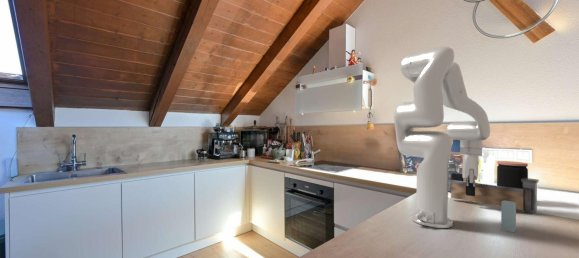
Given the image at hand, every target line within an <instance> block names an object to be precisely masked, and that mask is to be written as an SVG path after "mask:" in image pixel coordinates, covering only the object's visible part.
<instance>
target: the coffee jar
mask: <svg viewBox="0 0 579 258" xmlns="http://www.w3.org/2000/svg"><path fill="white" fill-rule="evenodd" d="M496 164H497V167H496V186H503V187H511V188H519V189H523V182H522V181H521V179H522V178H529V168H528V167H529V163H527V162H521V161H507V160H498V161H497V162H496Z"/></svg>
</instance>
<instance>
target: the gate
mask: <svg viewBox="0 0 579 258" xmlns="http://www.w3.org/2000/svg"><path fill="white" fill-rule="evenodd" d="M450 183H451V193H450V198H451V199H455V200H461V201H467V202H473V203H479V204H484V205H490V206H497V207H501V202H502V201H504V200H505V201H511V202H516V210H520V211H523V192H524V211H525V212H524V213H529V212H531V190H526V189H519V188H511V187H503V186H497V185H494V184H486V183H478V182H475V196H468V195H466V181H464V180H463V181H456V180H450Z"/></svg>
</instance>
